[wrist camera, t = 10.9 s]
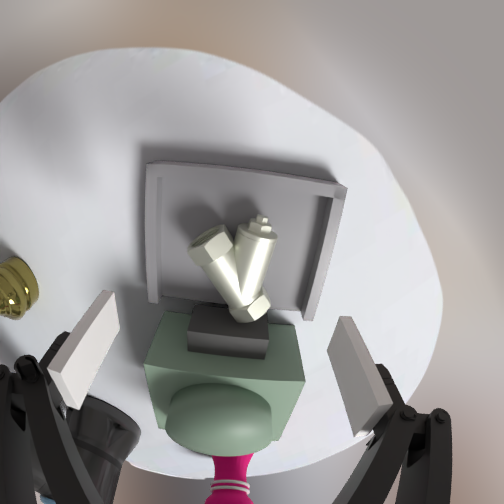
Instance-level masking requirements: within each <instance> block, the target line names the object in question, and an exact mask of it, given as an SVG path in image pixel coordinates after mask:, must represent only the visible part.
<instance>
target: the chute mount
mask: <svg viewBox="0 0 504 504" xmlns="http://www.w3.org/2000/svg"><path fill="white" fill-rule="evenodd" d="M346 193H347V188H346V187H345V186H343V185H341V184H340V183H336V182H331V181H326V180H320V179H315V178H309V177H303V176H297V175H291V174H284V173H278V172H271V171H263V170H256V169H248V168H239V167H230V166H221V165H211V164H199V163H187V162H172V161H153V162H150V163H147V164H146V185H145V253H146V275H147V291H148V302H149V303H155V304H158V303H159V301H160V299H161V297H162V296H168V297H175V298H182V299H189V300H197V301H204V302H212V303H221V304H227V303H226V301H225V300H224V299H223V297H222V296H221V294H220V293H219V292H218V290H217V289H216V287H215V286H214V285H213V283H212V282H211V280H210V279H209V278H208V276H207V275H206V273H205V272H204V270H203V269H202V268H201V266H196V265H195V263H194V262H193V260H192V259H191V258H190V256H189V255H188V253H187V249H188V246H189V244H190V243H191V242H192V241H193V240H194V239H195V238H197V237H198V236H199V235H201V234H202V233H204V232H205V231H207V230H209V229H210V228H213V227H215V226H217V225H224V224H225V226H226V227H227V229H228V231H229V232H230V234H231V235H232V237H233V241H234V239H235V236H236V232H237V228H238V225H239V224H241V223H249V221H250V219H251V218H256V217H257V214H260V215H264V216H267V217H268V221H267V222H268V223H270V224H271V226H272V228H271V231H273V232H275V233H276V234H277V236H278V239H277V242H276V245H275V248H274V251H273V254H272V257H271V260H270V263H269V266H268V269H267V272H266V275H265V278H264V281H263V284H262V285H263V287H264V288H265V290H266V292H267V293H268V295H269V298H270V302H271V306H270V308H269V309H278V310H290V311H301V314H302V318H303V320H304V321H313V319H314V316H315V312H316V309H317V306H318V303H319V299H320V296H321V292H322V289H323V286H324V282H325V278H326V275H327V271H328V268H329V264H330V260H331V256H332V252H333V249H334V245H335V241H336V237H337V233H338V228H339V224H340V220H341V216H342V211H343V207H344V202H345V197H346Z"/></svg>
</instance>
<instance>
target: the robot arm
mask: <svg viewBox="0 0 504 504" xmlns="http://www.w3.org/2000/svg"><path fill="white" fill-rule="evenodd" d="M119 330H120V325H119V320H118V314H117V308H116V301H115V294H114V292H112V291H106V290H103V291H102V292H101V293H100V294H99V296H98V297H97V298H96V300H95V301H94V302H93V303H92V305H91V306H90V307H89V309H88V310H87V311H86V313H85V314H84V315H83V317H82V318H81V319H80V321H79V322H78V324H77V325H76V326H75V328H74V329H73V331H72V332H71V333H69V332H66V331H65V332H63V333H62V334H60V335H59V336H58V337H57V338H56V339H55V341H54V342H53V344H52V345H51V346H50V348H49V349H48V350H47V352H46V353H45V355H44V356H43V358H42V359H41V361H40V362H39V364H38V362H37V360H36V358H35V357H34V356H31V355H24V356H21V357H20V358H18V359H17V360H16V362H15V364H14V369H15V370H16V372H17V373H11V372H10V370H9V369H8V367H7V366H5V365H2V364H1V365H0V504H37V501H36V496H35V491H36V492H38V493H40V494H41V495H40V498H41V499H40V500H41V501H42V502H43V503H44V504H113V500H114V496H115V491H116V487H117V483H118V480H119V476H120V471H121V468H122V464H123V462H124V461H125V459H126V458H127V457H128V455H129V454H130V453H131V452H132V450H133V449H134V448H135V446H136V445H137V444H138V442H139V438H140V435H141V430H140V428H139V426H138V425H137V424H136V423H135V422H134V421H133V420H132V419H131V418H130V417H128V416H127V415H126V414H124V413H123V412H121V411H120V410H118V409H116V408H115V407H113V406H111V405H109V404H107V403H105V402H102V401H100V400H97V399H95V398H92V397H88V396H86V394H87V392H88V390H89V388H90V386H91V384H92V382H93V380H94V378H95V376H96V374H97V372H98V370H99V368H100V366H101V364H102V362H103V360H104V358H105V356H106V354H107V352H108V350H109V348H110V346H111V345H112V343H113V341H114V339H115V337H116V335H117V333H118V332H119ZM327 353H328V355H329V358H330V362H331V365H332V368H333V371H334V374H335V377H336V380H337V383H338V386H339V389H340V392H341V396H342V399H343V402H344V405H345V408H346V412H347V415H348V418H349V422H350V425H351V428H352V432H353V435H354V437H360V436H366V435H368V434H369V433H370V432H371V431H372V430H373V431H374V434H375V435H374V436H373V437H372V439H371V440H370V441H369V442H368V443H367V444H366V445H367V446H368V447H367V449H366V451H365V452H364V454H363V456H362V458H361V460H360V461H359V463H358V465H357V466H356V468H355V470H354V471H353V473H352V475H351V476H350V478H349V479H348V481H347V483H346V484H345V486H344V487H343V489H342V490H341V492H340V493H339V495H338V496H337V498H336V499H335V500H334V502H333V503H332V504H383V503H384V501H385V499H386V497H387V495H388V493H389V491H390V489H391V487H392V485H393V483H394V481H395V479H396V476H397V474H398V472H399V470H400V467H401V465H402V469H401V475H400V481H399V487H398V492H397V497H396V502H395V504H450V495H451V481H452V480H451V479H452V432H451V419H450V415H449V414H448V413H447V412H446V411H445V410H443V409H441V408H437V409H434V410H433V411H432V412H431V413H430V414H419V413H417V412H416V410H415V409H414V408H412V407H411V406H408V405H405V403H404V401H403V399H402V397H401V395H400V393H399V391H398V389H397V387H396V385H395V384H394V381H393V379H392V377H391V375H390V373H389V371H388V369H387V368H386V367H385V366H384V365H383V364H375V363H374V361H373V359H372V357H371V355H370V353H369V351H368V349H367V347H366V345H365V343H364V341H363V339H362V337H361V335H360V333H359V331H358V329H357V327H356V325H355V323H354V321H353V319H352V317H348V316H340V317H339V319H338V322H337V325H336V328H335V330H334V333H333V336H332V338H331V341H330V344H329V346H328V349H327ZM62 399H63V400H64V402H65V403H66V405H67V409H66V418H65V415H64V412H63V409H62V407H61V405H60V403H61V401H62Z"/></svg>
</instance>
